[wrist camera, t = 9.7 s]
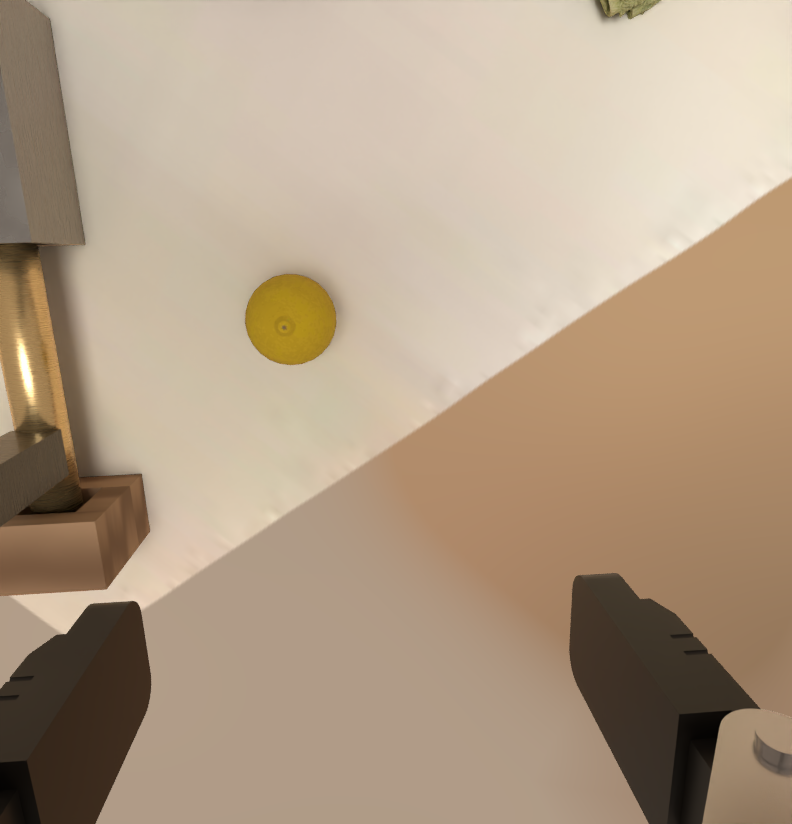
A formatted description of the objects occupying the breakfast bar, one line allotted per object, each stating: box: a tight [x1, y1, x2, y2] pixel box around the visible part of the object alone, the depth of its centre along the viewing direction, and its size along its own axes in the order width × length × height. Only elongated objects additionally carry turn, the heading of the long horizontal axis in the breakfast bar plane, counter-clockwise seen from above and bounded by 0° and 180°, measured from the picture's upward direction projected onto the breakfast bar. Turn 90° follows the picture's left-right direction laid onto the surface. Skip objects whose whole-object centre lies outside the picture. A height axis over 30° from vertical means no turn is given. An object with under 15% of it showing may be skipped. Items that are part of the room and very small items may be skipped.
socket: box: [0, 474, 150, 596], centre depth 40 cm, size 4×8×8 cm, turn 92°
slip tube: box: [0, 243, 84, 527], centre depth 33 cm, size 22×3×10 cm, turn 2°
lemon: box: [245, 274, 336, 365], centre depth 37 cm, size 6×6×8 cm
